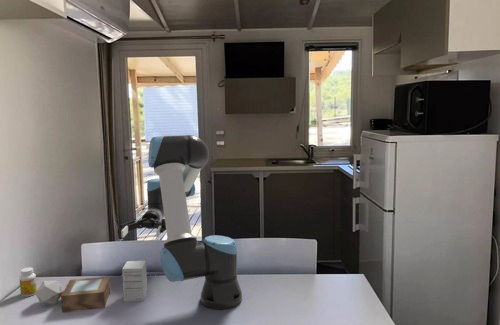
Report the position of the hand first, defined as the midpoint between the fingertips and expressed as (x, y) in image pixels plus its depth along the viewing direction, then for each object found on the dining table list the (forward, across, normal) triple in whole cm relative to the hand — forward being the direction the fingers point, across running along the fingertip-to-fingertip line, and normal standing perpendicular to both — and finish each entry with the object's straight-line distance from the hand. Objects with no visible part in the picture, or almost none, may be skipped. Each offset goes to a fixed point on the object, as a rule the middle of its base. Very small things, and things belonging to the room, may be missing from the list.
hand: (139, 234), depth 152 cm
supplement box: (+10, 0, -21) cm, 23 cm away
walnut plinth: (+13, +16, -21) cm, 30 cm away
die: (+14, +30, -21) cm, 39 cm away
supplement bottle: (+7, +41, -21) cm, 47 cm away
